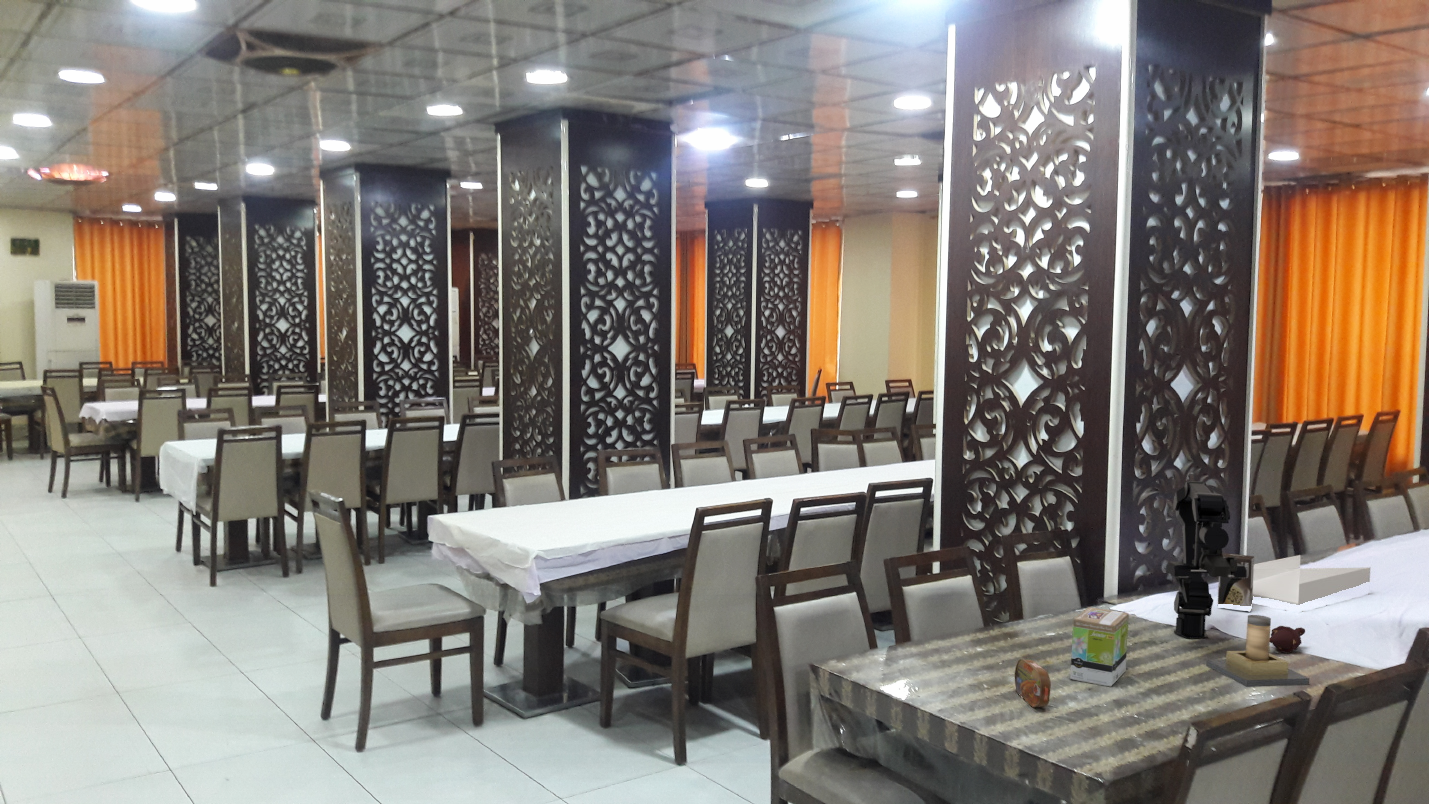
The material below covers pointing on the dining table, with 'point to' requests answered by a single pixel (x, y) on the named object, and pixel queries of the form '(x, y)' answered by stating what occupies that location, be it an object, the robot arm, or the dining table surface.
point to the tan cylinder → (1258, 638)
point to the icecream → (1286, 638)
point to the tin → (1032, 683)
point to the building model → (1303, 580)
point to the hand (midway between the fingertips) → (1204, 602)
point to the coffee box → (1240, 583)
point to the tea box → (1099, 646)
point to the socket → (1257, 670)
